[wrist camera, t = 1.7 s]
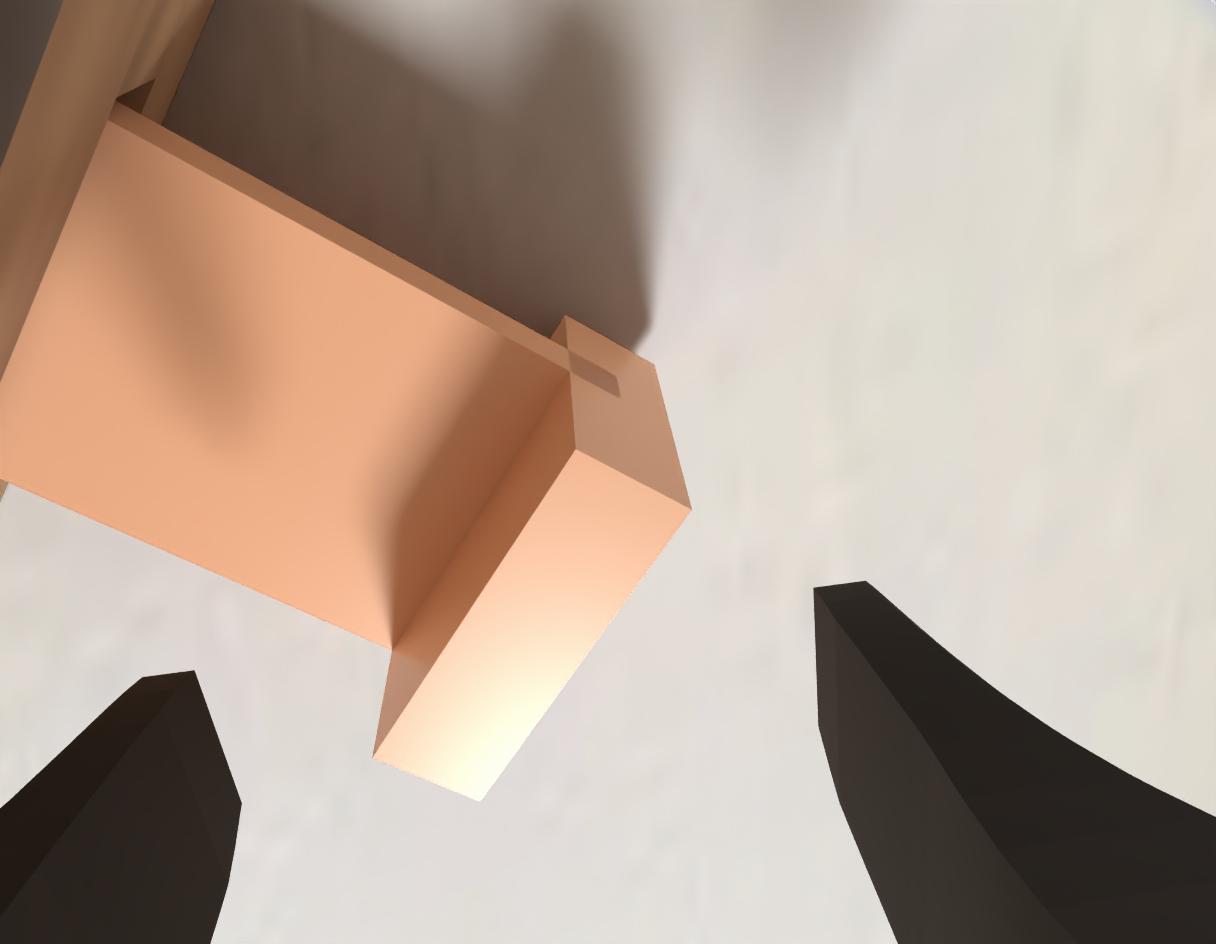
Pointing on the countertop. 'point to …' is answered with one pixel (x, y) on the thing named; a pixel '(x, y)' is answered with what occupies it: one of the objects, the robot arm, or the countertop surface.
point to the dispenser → (71, 115)
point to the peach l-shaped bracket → (341, 439)
